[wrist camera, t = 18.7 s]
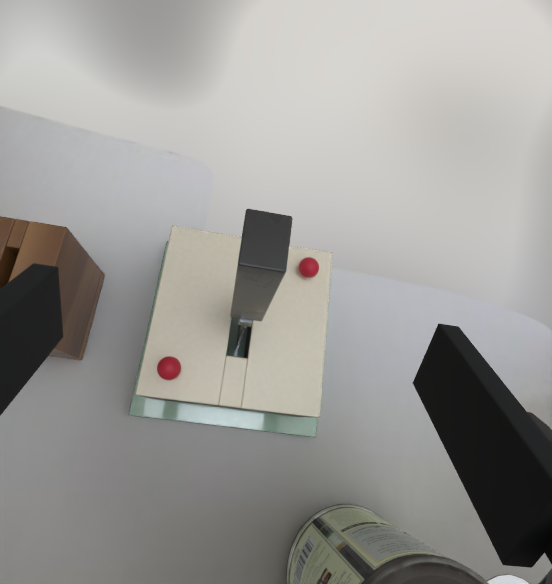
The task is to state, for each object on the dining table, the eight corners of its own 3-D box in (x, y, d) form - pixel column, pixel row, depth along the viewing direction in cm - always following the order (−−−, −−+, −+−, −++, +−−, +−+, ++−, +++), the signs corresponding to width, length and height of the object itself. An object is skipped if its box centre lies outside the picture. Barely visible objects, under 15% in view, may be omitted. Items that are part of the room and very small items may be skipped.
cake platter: (130, 415, 34) (128, 415, 33) (167, 245, 39) (166, 240, 38) (313, 436, 36) (315, 437, 35) (326, 270, 41) (329, 267, 40)
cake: (150, 398, 34) (130, 393, 26) (179, 257, 38) (169, 215, 30) (300, 417, 35) (325, 417, 27) (313, 279, 39) (338, 244, 31)
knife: (225, 350, 36) (236, 269, 16) (230, 318, 37) (247, 203, 17) (247, 353, 36) (285, 277, 16) (251, 321, 37) (293, 211, 17)
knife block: (9, 350, 34) (-70, 325, 25) (37, 264, 37) (-25, 211, 27) (82, 360, 35) (32, 339, 25) (104, 274, 37) (67, 226, 28)
